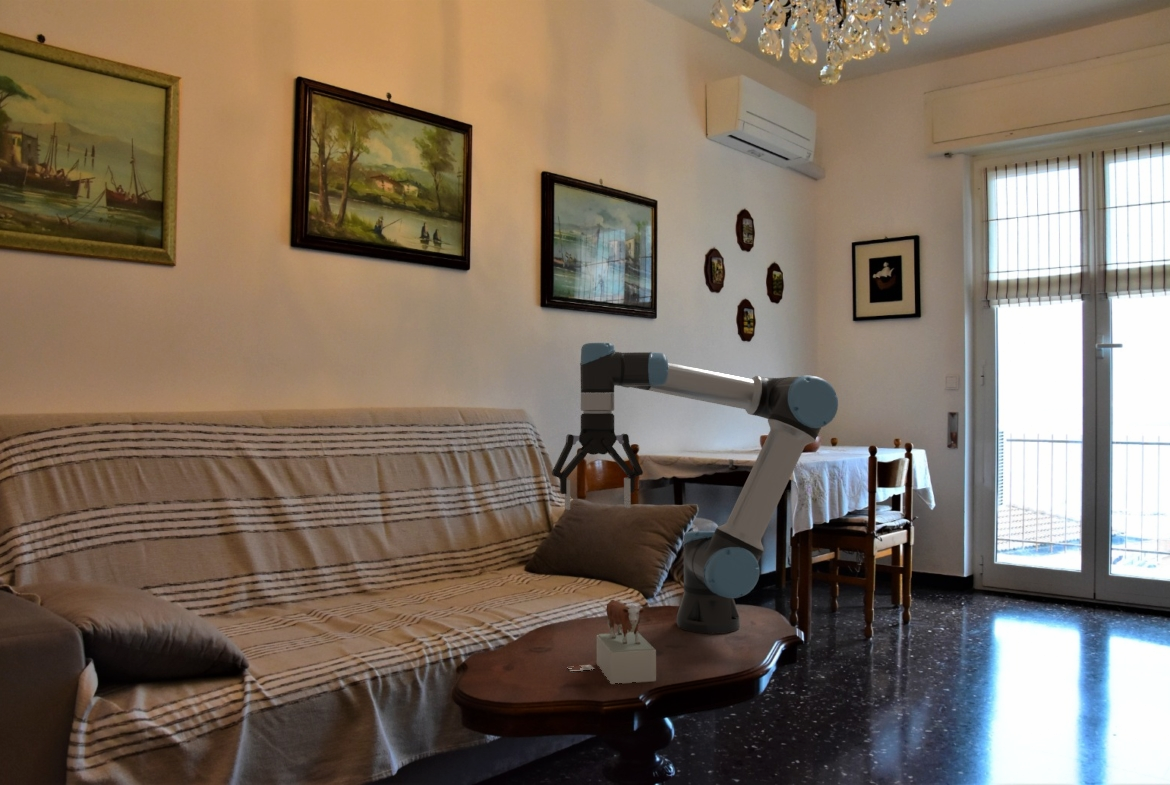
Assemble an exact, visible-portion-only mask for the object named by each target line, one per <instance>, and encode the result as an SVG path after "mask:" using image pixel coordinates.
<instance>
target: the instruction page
mask: <svg viewBox="0 0 1170 785" xmlns="http://www.w3.org/2000/svg"><path fill="white" fill-rule="evenodd" d="M580 666H581V667H582V668H580V670H569V672H571V671H581V672H584V671H583V670H590V671H594V670H593V669H595V670H596V667H593V665H591V664H584V665H580ZM568 667H569V666H567V667H566V669H567V668H568ZM568 669H572V668H568ZM568 669H567V670H568ZM591 669H592V670H591Z"/></svg>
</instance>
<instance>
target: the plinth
mask: <svg viewBox="0 0 1170 785" xmlns="http://www.w3.org/2000/svg"><path fill="white" fill-rule="evenodd" d="M614 633H615V635H616V638H611V635H610V634H611V632H610V633H598V634H596V666H597V667H598V666H599V667H600V668H599V667H598V668H599V669H601V670H602V671H601V670H600V671H601V672H602V674H603V673H604V674H603V675H604V677H605V676H606V677H607V678H606V677H605V678H606V679H607V681H608V680H609V681H610V682H609V681H608V682H609V683H610V684H611V685H616V684H615V683H618V684H619V683H622V684H631V683H632V682H636V683H648V682H657V650H656V648H654V647H653V646H652V645H651V643H650V642H648V641H647V640H646V638H644V636H642V635H641V633H639V632H638V638H639V641H640V643H641V644H636V642H635V635H634V631H633V632H632V633H631V632H629V631H627V635H626V638H627V644H623V641H622V639H623V637H624V634H623V632H622V635H618V632H614ZM618 684H617V685H618ZM632 684H633V683H632ZM619 685H620V684H619Z"/></svg>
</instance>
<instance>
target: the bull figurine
mask: <svg viewBox="0 0 1170 785" xmlns="http://www.w3.org/2000/svg"><path fill="white" fill-rule="evenodd" d="M645 611H646V609H645V608H643V607H642V608H639V607H638V606H637V605H634V604H629V605H627V604H624V603H622V602H620V601H618V600H615V599H611V600H610V601H609V602H607V604H606V616H607V619H606V620H607V627H608V630H610V633H611V634H610V635H611V638H616V635H615V633H618V635H622V633H623V634H624V637H623V639H622V641H623V644H627V638H626V635H627V632H631V633H632V632H634V635H635V642H636V644H641V643H640V641H639V638H638V633H639V624H640V621H641V617H640V614H642V613H645ZM615 625H616V627H617V629H616V631H617V632H615V630H614V629H615V628H614V626H615Z"/></svg>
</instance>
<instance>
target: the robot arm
mask: <svg viewBox="0 0 1170 785" xmlns="http://www.w3.org/2000/svg"><path fill="white" fill-rule="evenodd" d="M579 366H580V369H579V370H580V411H582V412H583V413H581V415H580V433H579V435H574V434H569V433H568V434H567V435H566V436H565V437H566V438H565V444H564V446H563V448H562V451H561V453H560V455H559V457H558V459H557V461H556V463H555V465H554V467H553V469H552V471H551V475H552V476H553V477H555V478H558V479H559V488H560V489H559V492H560V494H562V495H564V509H565V510H566V511H567V510H568V511H569V510H571V479H569V478H568V477H569V476H570V475H571V474H572V472H573V471H574V470H575V469H576V467H577V466H578V465H579V464H580V463H581V462H582V460H583V459H584V458H585V457H586V456H587V454H589V455H607V454H608V455H609V456H611V458H612V459H613V460H614V461H615V463H616V464H617V465H618V466H619V468H621V470H622V471H623V472H624V474H626V476H627V477H624V478H623V490H624V491H623V500H624V501H623V507H624V508H626V509H630V508H631V493H635V490H636V488H635V486H636V483H635V482H636V480H635V479H636V477H639V476H642V475H643V474H644V471H643V469H642V467H641V465H640V463H639V461H638V459H637V457H636V454H635V452H634V451H633V447H632V446H631V445H630V439H629V437H630V436H629V434H627V433H621V434H617V435H616V434H615V414H614V413H613V412H614V411H615V386H617V387H618V386H619V387H623V388H633V389H638V390H644V391H650V392H655V393H659V394H664V395H668V396H669V395H671V396H675V397H680V398H687V399H691V400H695V401H702V402H706V403H712V404H714V405H715V404H717V405H720V406H721V405H722V406H726V407H732V408H737V409H743V410H745V412H746V413H747V415H751V416H756V417H759V418H763V419H767V423H768V426H769V432H768V435H767V436H766V439H765V441H764V443H763V444H762V447H761V449H760V451H759V454H758V455H757V458H756V459H755V462H754V464H753V465H752V468H751V471H750V473H749V475H748V477H747V479H746V481H745V483H744V485H743V487H742V489H741V492H740V493H739V495H738V497H737V500H736V502H735V503H734V506H733V508H732V510H731V512H730V515H729V517H728V519H727V521H726V522H725V523H724V524H722V525H718V526H716V528H715V529H714V530H695V531H694V530H692V531H687V532H686V533H685V534H684V535H683V536H684V537H683V543H682V547H683V595H682V598H681V601H680V605H679V608H678V610H677V614H676V626H677V627H678V628H679V629H681V630H683V631H684V630H685V631H687V632H693V633H698V634H725V633H730V632H735V631H738V630H739V629H740V627H741V623H740V622H741V618H740V614H739V611H738V608H737V605H736V601H735V599H738V598H741V597H744V596H746V595H748V594H749V593H750V592H751V591H753V590H754V588H755V587H756V585H757V583H758V581H759V577H760V566H759V562H760V559H761V557H762V554H763V553H764V550H765V549H764V546H763V543H762V539H763V536H764V535H765V532H766V530H767V528H768V525H769V523H770V521H771V519H772V517H773V516H774V513H775V510H776V508H777V506H778V505H779V503H780V500H781V498H782V495H783V494H784V492H785V489H786V488H787V485H788V483H789V482H790V479H791V477H792V474H793V473H794V470H795V468H796V466H797V464H798V462H799V460H800V458H801V455H802V453H803V451H804V449H805V447H806V446H807V445H811V444H812V443H815V442H816V441H817V440H816V439H817V438H818V435H819V433H820V431H821V429H822V428H823V427H825V426H827V425H828V424H830V423H831V422H832V421H833V420H834V418H836V416H837V413H838V408H839V400H838V399H839V398H838V396H837V395H838V394H837V392H836V390H835V389H834V387H833V386H832V385H831V383H829V381H828V380H826V379H824V378H822V377H819V376H816V375H815V376H814V375H809V374H808V375H807V374H805V375H801V376H787V377H786V376H785V377H765V376H760V375H755V376H753V377H752V378H747V377H743V376H737V375H733V374H727V373H722V372H716V371H713V370H707V369H703V368H697V367H691V366H686V365H681V364H678V363H677V364H676V363H671V362H668V358H667V356H666V354H665V353H663V352H653V351H650V352H649V351H648V352H645V351H643V352H621V351H616V349H615V345H614V344H613V343H610V342H588V343H585V344H583V345H582V346H581V348H580V363H579ZM617 441H618V442H617ZM577 442H579V444H580V445H581V448H580V449H579V450H578V452H577V453H576V454H575V456H574V457H573V458H572V459H571V461H570V462H569V463H568V464H567V465H566V466H565V468H564V465H565V463H566V461H567V459H568V456H569V455H570V453H571V450H572V448H573V446H574V445H576V444H577ZM616 442H617V443H618V444H620V445H621V446H622V449H623V450H624V452H625V455H626V456H627V458H628V461H629V463H630V464H631V467H632V469H631V467H629V465H628V463H626V462H625V460H624V459H623V458H622V457H621V455H620V454H619V453H618V451H616V449H615V448H614V447H613V446H614V445H615V444H616ZM563 468H564V469H563ZM562 469H563V470H562ZM561 471H562V472H561Z"/></svg>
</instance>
